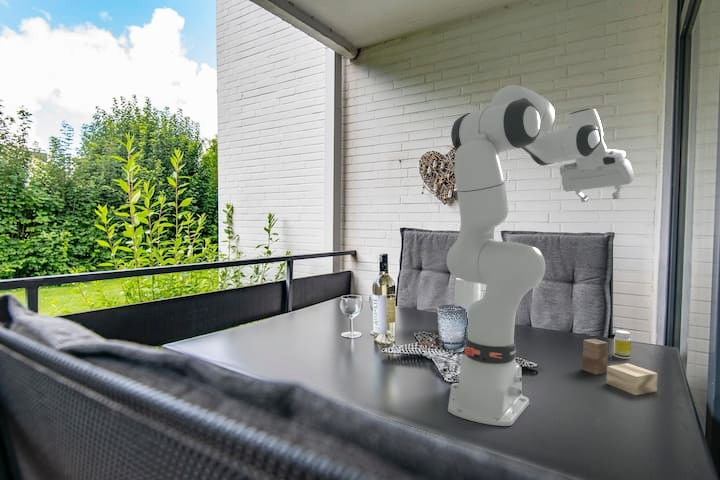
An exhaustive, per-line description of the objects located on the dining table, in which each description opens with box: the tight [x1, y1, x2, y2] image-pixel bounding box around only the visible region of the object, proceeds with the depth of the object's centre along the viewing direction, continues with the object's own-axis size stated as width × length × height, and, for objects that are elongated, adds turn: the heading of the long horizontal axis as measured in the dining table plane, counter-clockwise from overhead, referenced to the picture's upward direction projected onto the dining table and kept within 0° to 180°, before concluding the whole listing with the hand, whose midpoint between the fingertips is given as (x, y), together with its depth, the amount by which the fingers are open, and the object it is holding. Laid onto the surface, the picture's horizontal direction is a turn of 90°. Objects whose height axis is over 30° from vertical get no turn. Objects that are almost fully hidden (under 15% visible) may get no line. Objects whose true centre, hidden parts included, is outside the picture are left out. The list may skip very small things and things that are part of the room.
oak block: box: [606, 362, 658, 396], centre depth 107 cm, size 8×8×5 cm
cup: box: [454, 277, 482, 318], centre depth 159 cm, size 10×10×22 cm
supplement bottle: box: [612, 329, 632, 360], centre depth 132 cm, size 5×5×8 cm
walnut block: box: [581, 338, 609, 376], centre depth 119 cm, size 4×4×9 cm
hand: (600, 200), depth 130 cm, fingers open, 8 cm apart
